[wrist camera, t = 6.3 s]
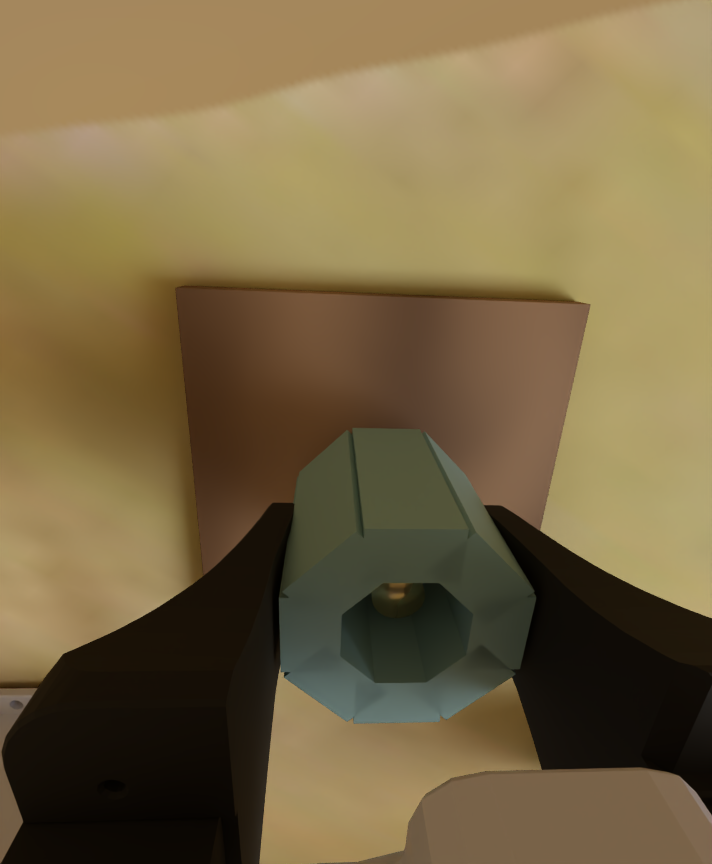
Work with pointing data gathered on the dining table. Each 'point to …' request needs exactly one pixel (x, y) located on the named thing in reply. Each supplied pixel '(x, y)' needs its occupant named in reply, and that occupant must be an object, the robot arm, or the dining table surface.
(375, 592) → the post
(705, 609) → the dining table surface
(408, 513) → the bead
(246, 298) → the board
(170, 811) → the robot arm
